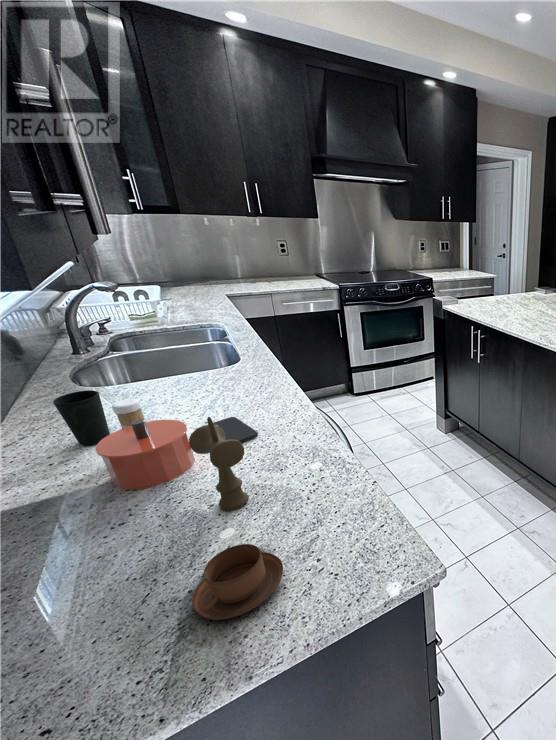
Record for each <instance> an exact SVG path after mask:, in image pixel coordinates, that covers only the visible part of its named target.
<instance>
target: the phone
mask: <svg viewBox="0 0 556 740" xmlns="http://www.w3.org/2000/svg"><path fill="white" fill-rule="evenodd" d="M213 424H214V425H218V426H220V427H221V428H223V430H224V432H225V440H238V441H239V442H241V443H243V442H246V441H249V440H251V439H255V438H256V437H258V436H259V433H258V430H256V429H254V428H252V427H251V426H250V425H248V424H247V423H244V422H243V421H242V420H241V419H239V418H238V417H236V416H230V417H227V418H222V419H219V420H216V421H213Z"/></svg>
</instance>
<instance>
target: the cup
mask: <svg viewBox="0 0 556 740" xmlns="http://www.w3.org/2000/svg"><path fill="white" fill-rule="evenodd" d="M52 403H53V405H54V406H55V408H56V410H57V411H58V413H59V414H60V416H61V418H62V419H63V420H64V422H65V423H66V425H67V427H68V429H69V430H70V432H71V433H72V435H73V436H74V438H75V439H76V441H77V442H78V444H79V446H81V447H91V446H96V445H97V444H98V443H99V442H100V441H101V440H102V439H103V438H105V437H106V436H108V435H110V434H111V433H110V428H109V425H108V422H107V418H106V417H107V416H106V415H105V410H104V407H103V403H102V399H101V397H100V392H99V391H97V390H93V389H91V390H89V389H88V390H87V389H85V390H79V391H74V392H69V393H66V394H63V395H61V396H58V397H56V398H54V400H53V401H52Z"/></svg>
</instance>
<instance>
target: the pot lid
mask: <svg viewBox="0 0 556 740" xmlns="http://www.w3.org/2000/svg"><path fill="white" fill-rule="evenodd" d="M187 431H188V427H187V424H186V423H185V422H183V421H181V420H176V419H155V420H149V421H146V422H145V420H142V419H141V420H136V421H133V422H131V426H129V427H126V428H123V429H122V428H121V429H119V430H116V431H114V432H112V433H110V435H108V436H106V437H105V438H103V439H102V440H101V441H100V442H99V443H98V444H97V445H95V448H94V449H95V452H96V454H97V455H98V456H100V457H101V458H102V457H107V458H125V457H132V456H138V455H142V454H146V453H149V452H153V451H156V450H159V449H161V448H164V447H166V446H168V445H170V444H172V443H174V442H176V441H177V440H179V439H180V438H181V437H182V436H184V434H185V433H186V434H187Z"/></svg>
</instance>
